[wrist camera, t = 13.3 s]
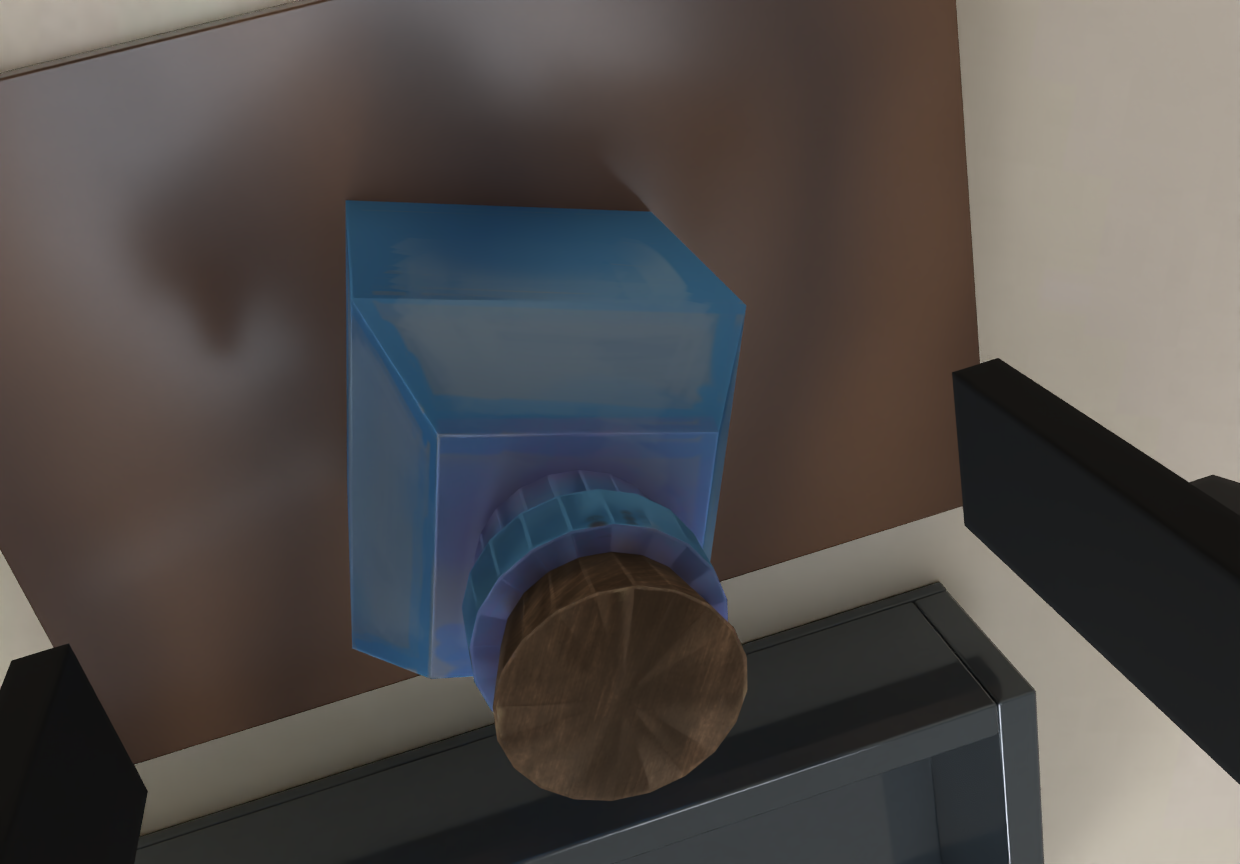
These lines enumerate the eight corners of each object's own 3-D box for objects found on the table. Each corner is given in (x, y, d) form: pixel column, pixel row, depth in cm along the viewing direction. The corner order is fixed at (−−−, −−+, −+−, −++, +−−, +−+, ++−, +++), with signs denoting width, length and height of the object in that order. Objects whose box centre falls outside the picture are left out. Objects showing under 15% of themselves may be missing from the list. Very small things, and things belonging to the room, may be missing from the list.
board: (127, 737, 28) (119, 769, 27) (-200, 121, 21) (-228, 133, 20) (966, 477, 30) (989, 498, 29) (918, -150, 23) (946, -153, 22)
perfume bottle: (623, 477, 26) (820, 866, 16) (346, 483, 25) (360, 917, 14) (651, 211, 24) (906, 462, 13) (345, 200, 22) (360, 473, 12)
